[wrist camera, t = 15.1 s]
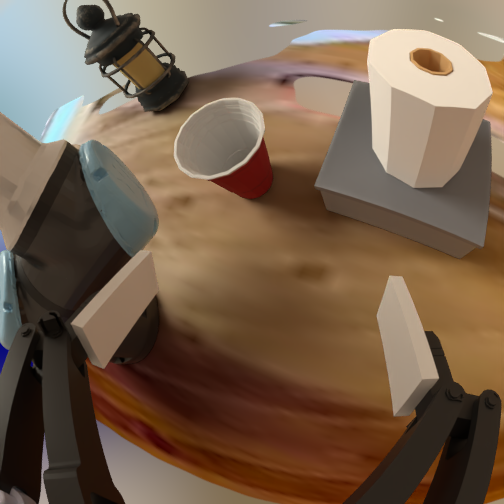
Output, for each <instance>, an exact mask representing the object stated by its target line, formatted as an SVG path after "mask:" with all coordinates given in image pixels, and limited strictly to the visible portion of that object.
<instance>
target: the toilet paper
mask: <svg viewBox="0 0 504 504" xmlns="http://www.w3.org/2000/svg"><path fill="white" fill-rule="evenodd" d="M367 64H368V74H369V85H370V98H371V116H372V148H373V150H374V152H375V153H376V155H377V157H378V159H379V160H380V162H381V164H382V166H383V167H384V169H385V171H386V172H387V173H388V174H390V175H392V176H394V177H396V178H397V179H399V180H401V181H403V182H404V183H406V184H408V185H409V186H411V187H413V188H429V187H443V186H444V185H445V184H446V183H447V182H448V181H449V180H450V179H451V178H452V177H453V176H454V175H455V174H456V173H457V172H458V171H459V169H460V168H461V166H462V164H463V162H464V160H465V158H466V155H467V153H468V151H469V149H470V147H471V145H472V143H473V141H474V138H475V136H476V134H477V132H478V129H479V127H480V125H481V122H482V120H483V117H484V115H485V112H486V110H487V107H488V104H489V102H490V99H491V96H492V93H493V92H492V88H491V85H490V81H489V78H488V75H487V72H486V69H485V67H484V66H483V65H482V64H481V63H480V62H479V61H478V60H477V59H476V58H475V57H474V56H472V55H471V54H470V53H469V52H468V51H467V50H466V49H465V48H463V47H462V46H461V45H460V44H458V43H456V42H453V41H451V40H449V39H446V38H444V37H441V36H439V35H437V34H434V33H431V32H429V31H424V30H408V29H392V30H390V31H388V32H386V33H384V34H381V35H379V36H377V37H375V38H373V39H371V40H370V45H369V52H368V59H367Z"/></svg>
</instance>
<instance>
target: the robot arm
mask: <svg viewBox="0 0 504 504" xmlns="http://www.w3.org/2000/svg"><path fill="white" fill-rule="evenodd" d="M158 224H159V219H158V214H157V211H156V208H155V206H154V204H153V202H152V200H151V199H150V197H149V195H148V194H147V192H146V191H145V189H144V188H143V186H142V185H141V184H140V182H139V181H138V180H137V178H136V177H135V176H134V175H133V173H132V172H131V171H130V170H129V169H128V168H127V166H126V165H125V164H124V163H123V162H122V161H121V160H120V159H119V158H118V157H117V156H116V155H115V154H114V153H113V152H112V151H111V150H110V149H109V148H107V147H106V146H104V145H102V144H101V143H100V142H98V141H96V140H90V141H88V142H86V143H84V144H82V145H81V147H80V148H79V149H77V148H75V147H74V146H73V145H71V144H70V143H69V142H67V141H66V140H64V139H63V140H59V141H55V142H51V143H41V142H39V141H38V140H36V139H35V138H34V137H33V136H31V135H30V134H29V133H27V132H26V131H25V130H23V129H22V128H21V127H19V126H18V125H17V124H15V123H14V122H13V121H11V120H10V119H9V118H7V117H6V116H5V115H3V114H2V113H1V112H0V230H1V231H2V235H3V239H4V242H5V246H6V249H7V250H8V251H7V250H4V251H2V252H1V253H0V342H1V344H2V345H3V346H4V347H5V348H6V349H9V352H8V355H7V358H6V360H5V363H4V366H3V369H2V372H1V374H0V504H39V499H40V492H41V469H42V452H43V441H44V432H45V440H46V448H47V455H48V461H49V469H47V470H45V471H44V474H43V479H44V484H45V489H46V493H47V498H48V502H49V504H125V502H124V500H123V498H122V496H121V494H120V493H119V491H118V490H117V488H116V487H115V486H114V484H113V482H112V478H111V475H110V472H109V469H108V466H107V463H106V459H105V456H104V452H103V448H102V444H101V441H100V437H99V432H98V428H97V424H96V419H95V414H94V409H93V403H92V397H91V391H90V385H89V378H88V370H87V364H86V362H85V360H86V359H87V357H89V359H90V361H91V363H92V364H93V365H96V366H98V367H100V368H103V369H104V368H105V366H106V365H107V363H108V362H112V363H115V364H133V363H137V362H139V361H141V360H142V359H144V358H145V357H146V356H147V355H148V353H149V352H150V351H151V349H152V347H153V345H154V343H155V340H156V337H157V332H158V325H159V313H158V306H157V301H156V298H155V295H156V294H157V292H158V291H159V287H158V282H157V277H156V273H155V268H154V263H153V258H152V252H151V251H145V250H143V249H144V247H145V246H146V245H147V244H148V242H149V241H150V240H151V239H152V238H153V236H154V235H155V234H156V232H157V229H158ZM377 320H378V324H379V329H380V334H381V339H382V344H383V349H384V354H385V360H386V365H387V371H388V377H389V384H390V391H391V398H392V406H393V414H394V416H408V415H410V414H411V413H412V412H413V410H414V409H415V410H416V417H415V418H414V419H413V420H412V421H411V422H410V423H409V424H408V426H407V429H406V431H405V432H404V434H403V435H402V436H401V438H400V439H399V440H398V442H397V443H396V444H395V446H394V447H393V448H392V450H391V451H390V452H389V453H388V455H387V456H386V457H385V458H384V460H383V461H382V462H381V463H380V464H379V466H378V467H377V468H376V469H375V470H374V471H373V473H372V474H371V475H370V476H369V477H368V478H367V479H366V480H365V481H364V482H363V484H362V485H361V486H360V487H359V488H358V489H357V490H356V491H355V492H354V493H353V494H352V495H351V496H350V497H349V498H348V499H347V500H346V501H345V502H344V503H343V504H404V503H405V502H406V501H407V499H408V498H409V497H410V495H411V494H412V493H413V491H414V490H415V489H416V487H417V486H418V484H419V483H420V482H421V480H422V479H423V477H424V476H425V474H426V473H427V471H428V470H429V468H430V466H431V465H432V463H433V462H434V460H435V458H436V457H437V455H438V453H439V452H440V450H441V448H442V446H443V445H444V443H445V445H444V448H443V452H442V455H441V458H440V461H439V464H438V467H437V470H436V473H435V475H434V478H433V481H432V483H431V486H430V488H429V491H428V493H427V495H426V498H425V500H424V502H423V504H483V503H484V500H485V496H486V493H487V490H488V486H489V482H490V478H491V474H492V470H493V465H494V460H495V455H496V449H497V443H498V436H499V428H500V418H501V399H500V397H499V395H498V394H497V393H496V392H495V391H493V390H485V391H483V393H482V394H481V395H480V396H476V395H471V394H467V393H465V391H464V389H463V388H462V386H461V385H459V384H458V383H456V382H454V381H453V379H452V375H451V372H450V369H449V366H448V363H447V360H446V357H445V356H444V355H445V354H444V351H443V349H442V346H441V343H440V341H439V339H438V337H437V336H436V335H435V334H434V333H433V331H424V330H423V327H422V324H421V321H420V319H419V316H418V313H417V311H416V308H415V306H414V303H413V301H412V298H411V296H410V293H409V291H408V289H407V286H406V284H405V282H404V279H403V277H401V276H390V275H389V279H388V282H387V285H386V288H385V292H384V295H383V298H382V301H381V304H380V307H379V310H378V312H377ZM31 361H32V362H33V363H34V365H33V367H31V366H30V364H31Z"/></svg>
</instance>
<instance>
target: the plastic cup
mask: <svg viewBox="0 0 504 504" xmlns="http://www.w3.org/2000/svg"><path fill="white" fill-rule="evenodd" d="M264 132H265V126H264V120H263V114H262V112H261V111H260V110H259V109H258V108H257V107H256V105H255V104H254V103H252V102H250V101H247V100H244V99H242V98H222V99H219V100H216V101H213V102H210V103H208V104H206V105H204V106H203V107H201V108H200V109H198V110H197V111H196V112H194V113H193V114H192V115H191V116H190V117H189V118H188V119H187V121H186V122H185V123H184V124H183V125H182V126H181V128H180V131H179V133H178V135H177V137H176V140H175V144H174V158H175V160H176V163H177V165H178V167H179V169H180V170H181V171H183V172H184V173H186V174H187V175H189V176H190V177H191V178H197V179H206V180H208V181H212V182H214V183H215V184H217V185H219V186H221V187H223V188H225V189H227V190H228V191H230V192H234V193H235V194H237V195H239V196H240V197H243V198H248V199H253V198H257V197H260V196H262V195H263V194H265V193H266V192H267V191H268V189H269V188H270V187H271V184H272V181H273V174H272V168H271V165H270V161H269V156H268V152H267V149H266V145H265V142H264V138H263V135H264Z"/></svg>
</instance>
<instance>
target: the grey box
mask: <svg viewBox="0 0 504 504" xmlns="http://www.w3.org/2000/svg"><path fill="white" fill-rule="evenodd" d="M491 161H492V156H491V127H490V122H489V121H487V120H484V119H483V120H482V122H481V125H480V127H479V129H478V132H477V134H476V136H475V138H474V141H473V143H472V145H471V147H470V149H469V151H468V153H467V155H466V158H465V160H464V162H463V164H462V166H461V168H460V169H459V171H458V172H457V173H456V174H455V175H454V176H453V177H452V178H451V179H450V180H449V181H448V182H447V183H446V184H445V185H444V186H443V187H429V188H413V187H411V186H409V185H408V184H406V183H404V182H403V181H401V180H399V179H397V178H396V177H394V176H392V175H390V174H388V173H387V172H386V171H385V169H384V167H383V166H382V164H381V162H380V160H379V159H378V157H377V155H376V153H375V152H374V150H373V148H372V116H371V98H370V85H369V83H366V82H361V81H356V80H354V82H353V85H352V88H351V91H350V93H349V96H348V99H347V102H346V104H345V107H344V110H343V113H342V115H341V118H340V121H339V123H338V126H337V129H336V131H335V134H334V137H333V139H332V142H331V144H330V147H329V150H328V152H327V155H326V157H325V160H324V162H323V165H322V168H321V170H320V173H319V175H318V178H317V180H316V183H315V185H314V186H315V189H317V190H320V191H321V194H322V197H323V200H324V203H325V206H326V209H327V210H329V211H332V212H335V213H338V214H341V215H344V216H347V217H350V218H353V219H356V220H359V221H362V222H365V223H368V224H370V225H373V226H376V227H379V228H382V229H384V230H387V231H390V232H393V233H395V234H398V235H401V236H403V237H406V238H409V239H411V240H414V241H416V242H419V243H422V244H424V245H427V246H429V247H432V248H434V249H437V250H439V251H441V252H444V253H446V254H449V255H451V256H453V257H456V258H458V259H461V258H462V257H463V256H465V255H466V254H468V253H469V252H470V251H472V250H473V249H474V248H476V247H477V248H479V249H481V248H483V247H484V241H485V235H486V228H487V221H488V212H489V202H490V189H491Z"/></svg>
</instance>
